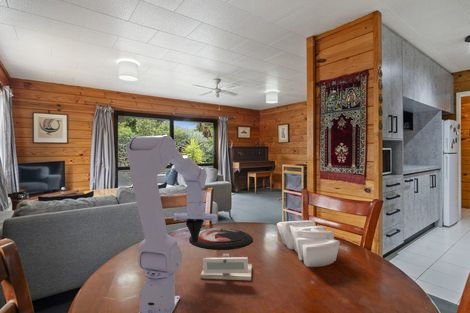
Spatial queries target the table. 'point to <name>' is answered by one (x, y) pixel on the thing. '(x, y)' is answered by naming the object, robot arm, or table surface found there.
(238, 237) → the wall clock
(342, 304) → the table surface
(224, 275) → the easel stand
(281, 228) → the white wavy slab sculpture
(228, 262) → the frame
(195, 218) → the robot arm
